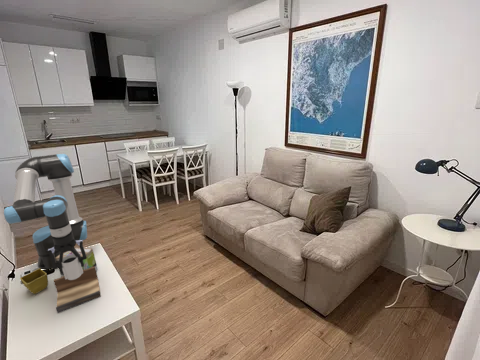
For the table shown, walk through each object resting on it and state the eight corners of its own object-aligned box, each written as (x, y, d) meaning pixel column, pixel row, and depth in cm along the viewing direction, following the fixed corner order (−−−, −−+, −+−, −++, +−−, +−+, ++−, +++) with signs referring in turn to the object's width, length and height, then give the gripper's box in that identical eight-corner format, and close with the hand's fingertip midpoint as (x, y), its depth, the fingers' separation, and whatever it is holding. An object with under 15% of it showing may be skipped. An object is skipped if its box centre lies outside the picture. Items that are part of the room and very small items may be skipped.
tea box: (98, 269, 144) (93, 247, 140) (86, 281, 135) (80, 259, 130) (74, 268, 146) (68, 246, 141) (61, 280, 137) (54, 257, 132)
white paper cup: (85, 273, 121) (80, 256, 117) (71, 282, 115) (65, 265, 112) (77, 269, 124) (72, 252, 120) (63, 277, 118) (57, 260, 115)
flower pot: (32, 298, 124) (26, 284, 121) (24, 291, 129) (19, 277, 126) (51, 287, 131) (47, 273, 128) (44, 281, 136) (39, 268, 133)
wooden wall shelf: (58, 293, 127) (53, 279, 124) (98, 279, 136) (94, 266, 133) (57, 313, 116) (52, 298, 113) (100, 296, 125) (97, 282, 122)
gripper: (35, 244, 104) (50, 287, 112) (86, 230, 113) (97, 271, 121) (36, 236, 110) (50, 278, 118) (85, 223, 119) (95, 263, 127)
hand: (74, 274), depth 120 cm, fingers closed on white paper cup, 6 cm apart
